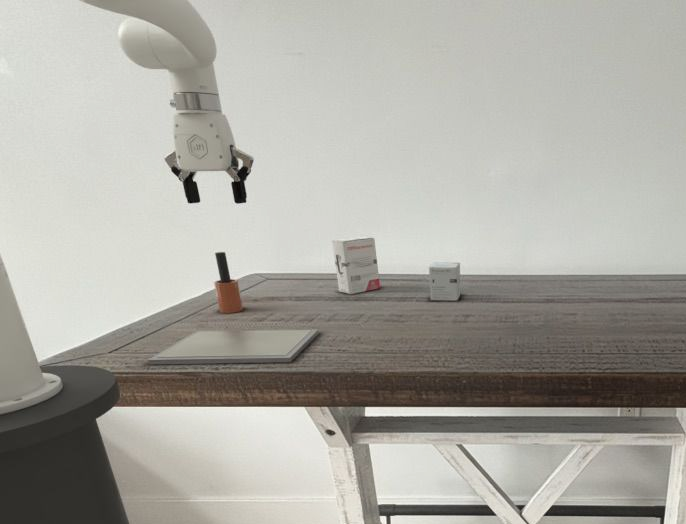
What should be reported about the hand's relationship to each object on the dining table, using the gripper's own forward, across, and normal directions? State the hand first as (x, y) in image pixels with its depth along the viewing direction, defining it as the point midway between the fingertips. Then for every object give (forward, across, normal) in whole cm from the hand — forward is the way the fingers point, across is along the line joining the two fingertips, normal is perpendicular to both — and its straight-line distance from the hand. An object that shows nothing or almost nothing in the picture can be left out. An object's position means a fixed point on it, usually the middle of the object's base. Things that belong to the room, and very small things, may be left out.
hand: (217, 203), depth 110 cm
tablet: (+21, +16, -28) cm, 38 cm away
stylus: (+20, +1, -4) cm, 21 cm away
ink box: (+21, +21, +16) cm, 34 cm away
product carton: (+21, +43, +10) cm, 49 cm away
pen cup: (+21, +1, -4) cm, 21 cm away
